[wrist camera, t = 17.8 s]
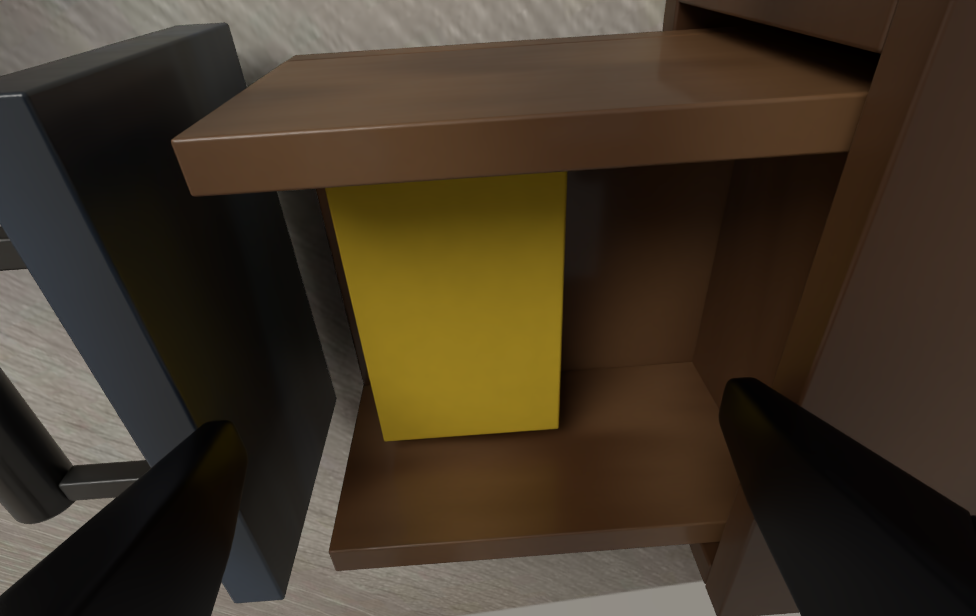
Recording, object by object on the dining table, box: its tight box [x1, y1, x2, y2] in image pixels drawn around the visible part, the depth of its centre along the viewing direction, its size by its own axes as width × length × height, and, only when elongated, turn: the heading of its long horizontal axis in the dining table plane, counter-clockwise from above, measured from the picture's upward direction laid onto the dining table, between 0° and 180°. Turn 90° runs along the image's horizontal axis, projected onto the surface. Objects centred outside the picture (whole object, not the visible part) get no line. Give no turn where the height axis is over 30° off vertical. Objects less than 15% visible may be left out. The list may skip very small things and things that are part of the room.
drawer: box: [0, 22, 881, 603], centre depth 12 cm, size 18×11×7 cm, turn 93°
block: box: [325, 172, 567, 441], centre depth 13 cm, size 7×4×3 cm, turn 3°
